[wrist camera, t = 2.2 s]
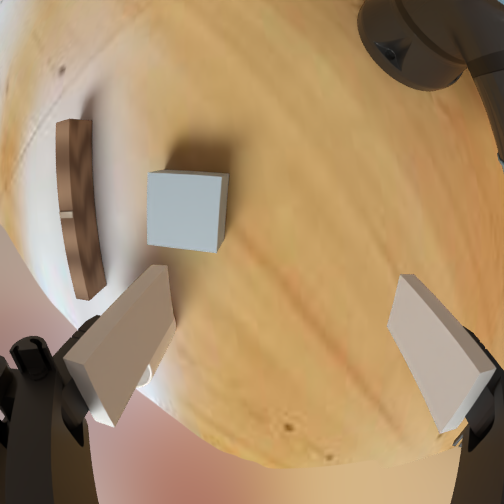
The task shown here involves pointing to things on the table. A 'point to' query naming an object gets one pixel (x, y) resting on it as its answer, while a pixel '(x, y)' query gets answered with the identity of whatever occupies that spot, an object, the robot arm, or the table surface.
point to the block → (186, 209)
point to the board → (78, 206)
